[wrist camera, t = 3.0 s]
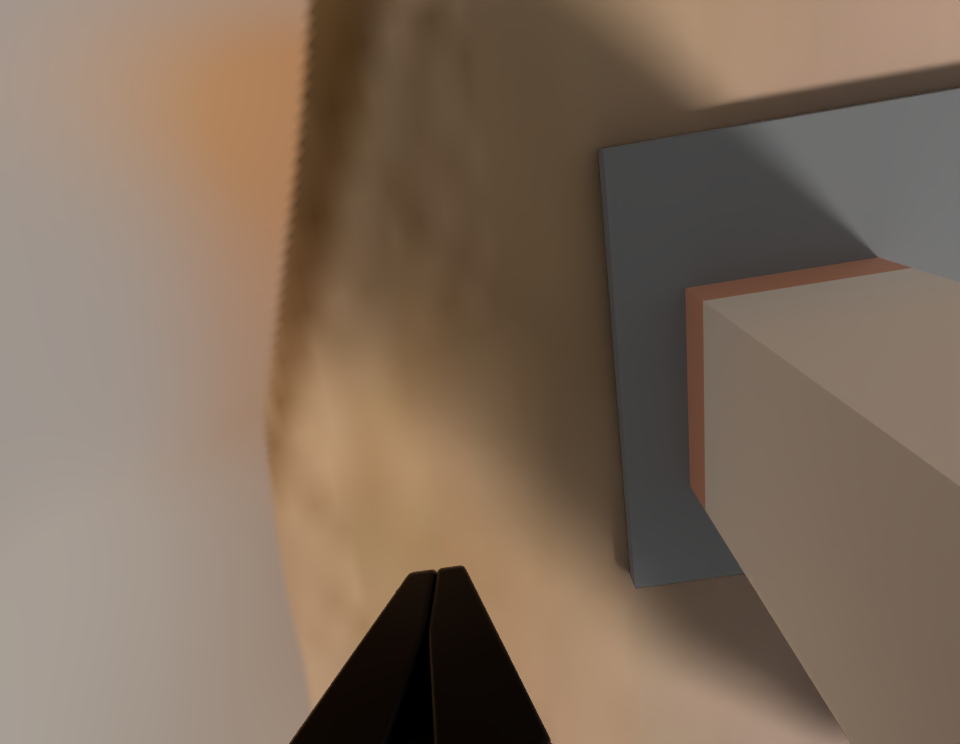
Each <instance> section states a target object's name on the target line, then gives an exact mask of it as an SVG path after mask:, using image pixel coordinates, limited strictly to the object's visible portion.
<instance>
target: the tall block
mask: <svg viewBox="0 0 960 744" xmlns="http://www.w3.org/2000/svg"><path fill="white" fill-rule="evenodd" d="M685 299H686V342H687V385H688V428H689V470H690V487H691V489H692V490H693V492H694V493H695V495H696V497H697V498H698V500H699V501H700V503H701V505H702V506H703V508H704V509H705V511H706V513H707V514H708V516H709V517H710V519H711V521H712V522H713V524H714V525H715V527H716V529H717V530H718V532H719V533H720V535H721V537H722V538H723V540H724V541H725V543H726V545H727V546H728V548H729V549H730V551H731V553H732V554H733V556H734V557H735V559H736V561H737V562H738V564H739V565H740V567H741V569H742V570H743V572H744V573H745V575H746V577H747V578H748V580H749V581H750V583H751V585H752V586H753V588H754V589H755V591H756V593H757V594H758V596H759V597H760V599H761V601H762V602H763V604H764V605H765V607H766V609H767V610H768V612H769V613H770V615H771V617H772V618H773V620H774V621H775V623H776V625H777V626H778V628H779V629H780V631H781V633H782V634H783V636H784V637H785V639H786V641H787V642H788V644H789V645H790V647H791V649H792V650H793V652H794V653H795V655H796V657H797V658H798V660H799V661H800V663H801V665H802V666H803V668H804V669H805V671H806V673H807V674H808V676H809V677H810V679H811V681H812V682H813V684H814V686H815V687H816V689H817V690H818V692H819V694H820V695H821V697H822V698H823V700H824V702H825V703H826V705H827V706H828V708H829V710H830V711H831V713H832V714H833V716H834V718H835V719H836V721H837V722H838V724H839V726H840V727H841V729H842V730H843V732H844V734H845V735H846V737H847V738H848V740H849V742H850V743H851V744H960V282H957V281H954V280H951V279H948V278H944V277H941V276H938V275H935V274H931V273H928V272H925V271H921V270H918V269H915V268H912V267H908V266H905V265H902V264H899V263H895V262H892V261H889V260H886V259H882V258H879V257H877V258H871V259H864V260H858V261H852V262H846V263H839V264H833V265H827V266H821V267H814V268H808V269H802V270H796V271H789V272H783V273H777V274H770V275H764V276H758V277H752V278H745V279H739V280H733V281H727V282H720V283H714V284H708V285H702V286H695V287H689V288H685Z"/></svg>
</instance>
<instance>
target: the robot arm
mask: <svg viewBox="0 0 960 744" xmlns="http://www.w3.org/2000/svg"><path fill="white" fill-rule="evenodd" d="M289 744H552V743H551V740H550V737H549V735H548V733H547V731H546V729H545V727H544V725H543V723H542V721H541V719H540V717H539V715H538V713H537V711H536V709H535V707H534V705H533V703H532V701H531V699H530V697H529V695H528V693H527V691H526V689H525V687H524V685H523V683H522V681H521V679H520V677H519V675H518V673H517V671H516V669H515V667H514V665H513V663H512V661H511V659H510V657H509V655H508V653H507V651H506V649H505V647H504V645H503V643H502V641H501V639H500V637H499V635H498V633H497V631H496V629H495V627H494V625H493V623H492V621H491V619H490V617H489V615H488V613H487V611H486V609H485V607H484V605H483V603H482V601H481V599H480V597H479V595H478V592H477V590H476V588H475V586H474V584H473V582H472V580H471V578H470V576H469V574H468V572H467V570H466V569H465V567H464V566H453V567H446V568H441V569H439V570H438V572H436V571H435V570H425V571H417V572H412V573H410V574H409V575H408V576H407V577H406V578H405V580H404V581H403V583H402V584H401V586H400V587H399V588H398V590H397V591H396V593H395V594H394V595H393V597H392V598H391V600H390V601H389V603H388V604H387V605H386V607H385V608H384V610H383V611H382V612H381V614H380V615H379V617H378V618H377V620H376V621H375V622H374V624H373V625H372V627H371V628H370V630H369V631H368V632H367V634H366V635H365V637H364V638H363V639H362V641H361V642H360V644H359V645H358V647H357V648H356V649H355V651H354V652H353V654H352V655H351V656H350V658H349V659H348V661H347V662H346V664H345V665H344V666H343V668H342V669H341V671H340V672H339V674H338V675H337V676H336V678H335V679H334V681H333V682H332V683H331V685H330V686H329V688H328V689H327V691H326V692H325V693H324V695H323V696H322V698H321V699H320V701H319V702H318V703H317V705H316V706H315V708H314V709H313V710H312V712H311V713H310V715H309V716H308V718H307V719H306V721H305V722H304V723H303V725H302V726H301V727H300V729H299V730H298V732H297V733H296V735H295V736H294V737H293V739H292V741H291V742H290V743H289Z"/></svg>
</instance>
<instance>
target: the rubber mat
mask: <svg viewBox="0 0 960 744" xmlns="http://www.w3.org/2000/svg"><path fill="white" fill-rule="evenodd" d="M598 155H599V168H600V182H601V195H602V208H603V221H604V234H605V247H606V261H607V274H608V287H609V300H610V313H611V326H612V339H613V353H614V366H615V379H616V392H617V405H618V418H619V431H620V445H621V458H622V471H623V484H624V497H625V510H626V524H627V537H628V550H629V563H630V575H631V578H632V581H633V584H634V586H635V589H636V588H643V587H650V586H657V585H665V584H672V583H679V582H687V581H694V580H701V579H709V578H716V577H723V576H731V575H738V574H745V573H744V572H743V570H742V569H741V567H740V565H739V564H738V562H737V561H736V559H735V557H734V556H733V554H732V553H731V551H730V549H729V548H728V546H727V545H726V543H725V541H724V540H723V538H722V537H721V535H720V533H719V532H718V530H717V529H716V527H715V525H714V524H713V522H712V521H711V519H710V517H709V516H708V514H707V513H706V511H705V509H704V508H703V506H702V505H701V503H700V501H699V500H698V498H697V497H696V495H695V493H694V492H693V490H692V489H691V487H690V470H689V428H688V385H687V342H686V299H685V288H689V287H695V286H702V285H708V284H714V283H720V282H727V281H733V280H739V279H745V278H752V277H758V276H764V275H770V274H777V273H783V272H789V271H796V270H802V269H808V268H814V267H821V266H827V265H833V264H839V263H846V262H852V261H858V260H864V259H871V258H877V257H879V258H882V259H886V260H889V261H892V262H895V263H899V264H902V265H905V266H908V267H912V268H915V269H918V270H921V271H925V272H928V273H931V274H935V275H938V276H941V277H944V278H948V279H951V280H954V281H957V282H960V87H957V88H951V89H945V90H940V91H934V92H928V93H922V94H916V95H910V96H905V97H899V98H893V99H887V100H881V101H875V102H870V103H864V104H858V105H852V106H846V107H840V108H835V109H829V110H823V111H817V112H811V113H805V114H800V115H794V116H788V117H782V118H776V119H770V120H765V121H759V122H753V123H747V124H741V125H735V126H730V127H724V128H718V129H712V130H706V131H700V132H695V133H689V134H683V135H677V136H671V137H665V138H660V139H654V140H648V141H642V142H636V143H630V144H625V145H619V146H613V147H607V148H601V149H598Z"/></svg>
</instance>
